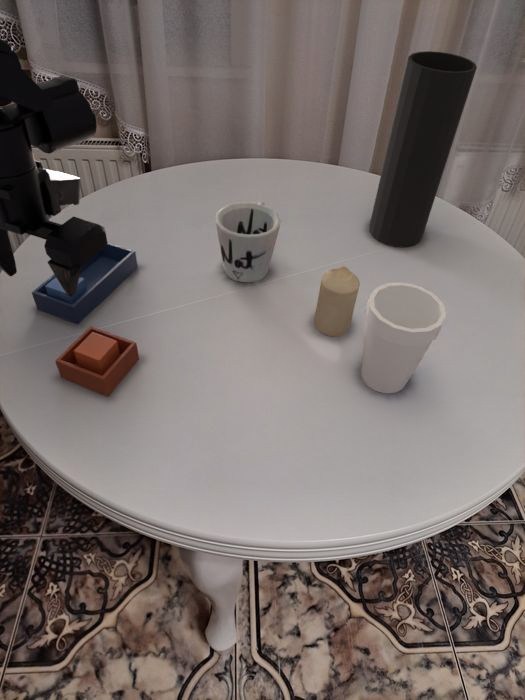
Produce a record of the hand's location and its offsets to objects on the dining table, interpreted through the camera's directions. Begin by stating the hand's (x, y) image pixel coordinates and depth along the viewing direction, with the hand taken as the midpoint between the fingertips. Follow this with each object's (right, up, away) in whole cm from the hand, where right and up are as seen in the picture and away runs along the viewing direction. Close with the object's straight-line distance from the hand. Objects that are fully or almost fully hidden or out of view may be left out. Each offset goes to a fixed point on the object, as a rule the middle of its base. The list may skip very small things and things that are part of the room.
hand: (42, 284), depth 65 cm
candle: (+39, -5, +14) cm, 42 cm away
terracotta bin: (+6, -11, +5) cm, 13 cm away
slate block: (-2, -1, +14) cm, 14 cm away
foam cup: (+45, -12, +7) cm, 47 cm away
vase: (+54, +14, +34) cm, 65 cm away
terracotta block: (+6, -11, +5) cm, 13 cm away
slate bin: (0, +2, +17) cm, 17 cm away
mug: (+26, +7, +24) cm, 36 cm away
